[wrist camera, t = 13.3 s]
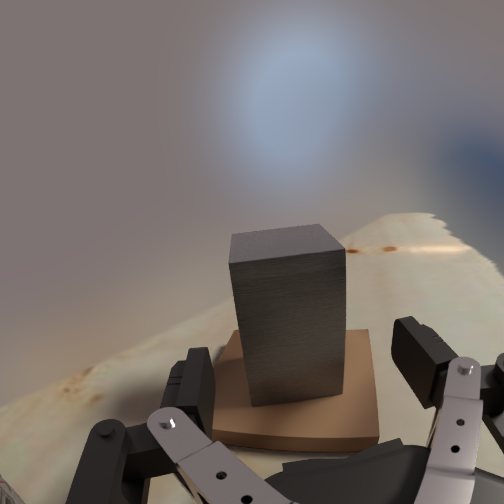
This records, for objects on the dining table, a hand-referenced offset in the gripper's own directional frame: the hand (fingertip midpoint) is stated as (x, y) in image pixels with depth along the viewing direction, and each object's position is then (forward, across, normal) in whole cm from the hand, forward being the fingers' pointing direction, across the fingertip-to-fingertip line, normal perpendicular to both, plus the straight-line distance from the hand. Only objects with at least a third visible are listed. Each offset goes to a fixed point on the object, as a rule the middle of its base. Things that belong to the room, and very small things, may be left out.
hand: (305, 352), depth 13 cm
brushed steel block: (+7, 0, +7) cm, 10 cm away
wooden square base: (+8, 0, +9) cm, 11 cm away
